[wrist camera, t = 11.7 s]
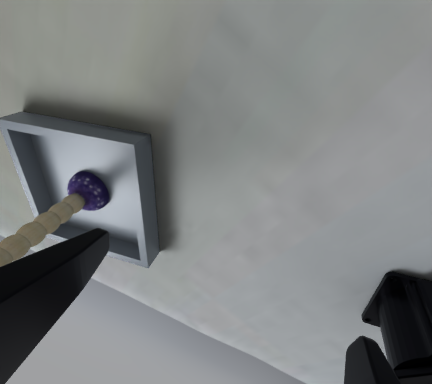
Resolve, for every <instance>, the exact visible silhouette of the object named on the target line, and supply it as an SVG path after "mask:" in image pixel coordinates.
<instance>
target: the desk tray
mask: <svg viewBox="0 0 432 384" xmlns="http://www.w3.org/2000/svg"><path fill="white" fill-rule="evenodd" d="M0 129H1V132H2V134H3V137H4V140H5V142H6V145H7V147H8V150H9V152H10V155H11V158H12V160H13V163H14V165H15V168H16V171H17V173H18V176H19V178H20V181H21V183H22V186H23V189H24V191H25V194H26V196H27V199H28V201H29V204H30V207H31V209H32V212H33V214H34V217H35V218H36V217H37V216H38V215H40V214H42V213H44V212H48V210H49V209H50V208H51V207H52V206H53V205H55V204H57V203H60V202H61V201H62V200H63V199H64V198H65V197H66V196H68V191H67V187H68V183H69V180H70V179H71V178H72V177H73V175H75V174H76V173H77V172H81V171H86V172H90V173H92V174H94V175H96V176H97V177H98V178H99V179H100V180H102V182H103V183H104V184H105V186H106V187H107V189H108V192H109V202H108V204H107V205H106V206H105V207H103V208H101V209H99V210H95V211H87V210H83V209H81V210H80V211H79V212H77V213H75V214H73V215H72V217H71V218H70V219H69V220H68V221H66V222H65V223H62V224H60V226H59V227H58V229H57V230H55V231H54V232H53V233H51V234H48V235H46V236H45V237H46V238H50V239H53V240H56V241H60V242H63V241H65V240H68V239H70V238H73V237H75V236H78V235H80V234H83V233H85V232H88V231H90V230H93V229H95V228H101V229H104V230H106V231H108V232H109V239H110V247H109V251H108V253H107V254H106V256H109V257H112V258H116V259H119V260H122V261H126V262H129V263H132V264H136V265H139V266H142V267H145V268H149V266H150V265H151V264H152V262H153V261H154V259H155V258H156V256H157V255H158V253H159V252H160V250H159V237H158V225H157V212H156V199H155V186H154V174H153V161H152V148H151V135H150V134H147V133H141V132H135V131H130V130H124V129H118V128H113V127H107V126H101V125H96V124H90V123H84V122H79V121H73V120H67V119H62V118H56V117H50V116H45V115H39V114H33V113H28V112H18V113H15V114H11V115H8V116H4V117H1V118H0Z"/></svg>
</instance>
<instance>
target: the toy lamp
mask: <svg viewBox="0 0 432 384" xmlns="http://www.w3.org/2000/svg"><path fill="white" fill-rule="evenodd" d="M67 191H68V196H66V197H65V198H64V199H63V200H62V201H61V202H60V203H57V204H55V205H53V206H52V207H51V208H50V209H49V210H48V212H44V213H42V214H40V215H38V216H37V217H36V218H35V219H34V221H33V222H31V223H28V224H25V225H24V226H22V227H21V228H20V229H19V230H18V231H17V232H16V234H15V235H11V236H9V237H7V238H5V239H4V240H3V241H1V242H0V267H1V266H3V265H6V264H8V263H11V262H12V261H15V260H18V259H20V258H21V257H23V256H24V255H25V254H26V253H27V252H28V250H29V249H30V247H33V246H35V245H37V244H39V243H40V242H41V241H42V240H43V239H44V238H45V236H46V235H48V234H51V233H53V232H54V231H55V230H57V229H58V227H59V226H60V224H62V223H65V222H66V221H68V220H69V219H70V218H71V217H72V215H73V214H75V213H77V212H79V211H80V210H81V209H83V210H87V211H95V210H99V209H101V208H103V207H105V206H106V205H107V204H108V202H109V192H108V189H107V187H106V186H105V184H104V183H103V182H102V180H100V179H99V178H98V177H97V176H96V175H94V174H92V173H90V172H86V171H81V172H77V173H76V174H75V175H73V177H72V178H71V179H70V180H69V183H68V187H67Z"/></svg>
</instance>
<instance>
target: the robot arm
mask: <svg viewBox="0 0 432 384" xmlns="http://www.w3.org/2000/svg"><path fill="white" fill-rule="evenodd" d="M109 247H110V239H109V232H108V231H106V230H104V229H101V228H95V229H93V230H90V231H88V232H85V233H83V234H80V235H78V236H75V237H73V238H70V239H68V240H65V241H63V242H60V243H58V244H56V245H53V246H51V247H48V248H46V249H43V250H41V251H38V252H36V253H33V254H31V255H28V256H26V257H23V258H21V259H18V260H16V261H13V262H11V263H8V264H6V265H3V266H1V267H0V384H5V383H6V382H7V381H8V379H9V378H10V377H11V376H12V375H13V373H14V372H15V371H16V370H17V369H18V367H19V366H20V365H21V364H22V363H23V361H24V360H25V359H26V358H27V357H28V355H29V354H30V353H31V352H32V350H33V349H34V348H35V347H36V346H37V344H38V343H39V342H40V341H41V340H42V338H43V337H44V336H45V335H46V334H47V332H48V331H49V330H50V329H51V327H52V326H53V325H54V324H55V323H56V321H57V320H58V319H59V318H60V317H61V315H62V314H63V313H64V312H65V311H66V309H67V308H68V307H69V306H70V305H71V303H72V302H73V301H74V300H75V298H76V297H77V296H78V295H79V294H80V292H81V291H82V290H83V288H84V287H85V286H86V284H87V283H88V281H89V280H90V278H91V277H92V275H93V274H94V272H95V271H96V269H97V268H98V266H99V265H100V263H101V262H102V260H103V259H104V257H105V256H106V254H107V253H108V251H109ZM391 278H393V279H391ZM362 320H363V322H365V323H368V324H371V325H374V326H378V327H380V328H381V332H382V337H383V341H384V346H385V350H386V355H387V359H386V357H385V356H384V354H383V352H382V350H381V349H380V347H379V345H378V344H377V343H376V341H374V340H373V339H370V338H368V337H365V336H359V337H358V338H357V339H356V340H355V341H354V342H353V343H352V344H351V345H350V346H349V347H348V349H347V352H346V362H345V377H344V384H432V281H428V280H424V279H420V278H416V277H412V276H408V275H404V274H400V273H396V272H388V273H386V274H385V276H384V277H383V279H382V281H381V282H380V284H379V286H378V288H377V289H376V291H375V293H374V294H373V296H372V298H371V300H370V301H369V303H368V305H367V306H366V308H365V310H364V312H363V313H362ZM387 360H388V361H387Z"/></svg>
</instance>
